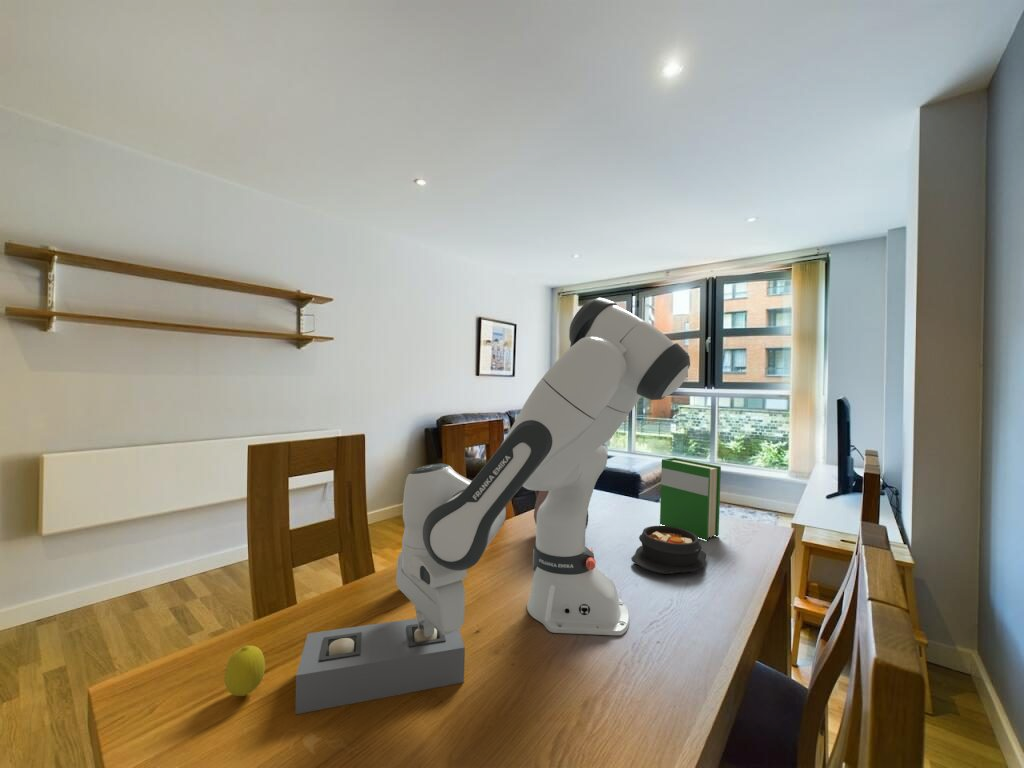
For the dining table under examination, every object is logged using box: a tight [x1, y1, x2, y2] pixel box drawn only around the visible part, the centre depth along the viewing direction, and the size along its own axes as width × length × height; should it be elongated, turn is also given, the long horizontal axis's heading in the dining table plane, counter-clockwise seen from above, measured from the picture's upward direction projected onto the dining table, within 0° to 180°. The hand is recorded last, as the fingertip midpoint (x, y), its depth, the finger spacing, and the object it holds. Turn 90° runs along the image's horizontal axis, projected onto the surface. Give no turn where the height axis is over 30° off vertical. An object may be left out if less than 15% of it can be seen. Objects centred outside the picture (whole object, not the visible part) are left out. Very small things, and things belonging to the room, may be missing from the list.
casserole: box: [630, 525, 707, 575], centre depth 122 cm, size 25×19×8 cm
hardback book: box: [659, 457, 722, 541], centre depth 148 cm, size 18×7×24 cm, turn 36°
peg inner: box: [414, 628, 437, 642], centre depth 76 cm, size 4×4×6 cm
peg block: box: [295, 617, 466, 715], centre depth 74 cm, size 26×11×6 cm, turn 107°
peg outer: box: [329, 638, 354, 656], centre depth 72 cm, size 4×4×6 cm
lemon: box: [224, 644, 266, 697], centre depth 69 cm, size 6×6×8 cm
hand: (425, 632), depth 76 cm, fingers closed, pressing on peg inner
